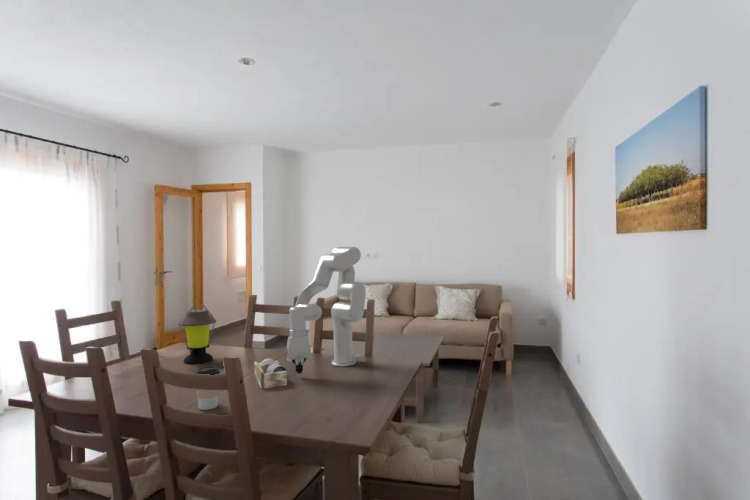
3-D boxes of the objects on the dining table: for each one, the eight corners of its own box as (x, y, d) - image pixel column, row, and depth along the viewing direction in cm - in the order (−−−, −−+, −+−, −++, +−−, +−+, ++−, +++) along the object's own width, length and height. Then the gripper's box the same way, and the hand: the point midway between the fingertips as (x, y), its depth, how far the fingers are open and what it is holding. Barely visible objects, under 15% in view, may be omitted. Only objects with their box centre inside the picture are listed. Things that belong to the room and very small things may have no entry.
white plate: (276, 374, 210) (276, 357, 210) (277, 375, 209) (276, 358, 209) (259, 376, 207) (259, 359, 207) (259, 377, 206) (259, 360, 206)
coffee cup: (191, 406, 170) (190, 367, 170) (214, 400, 176) (213, 363, 176) (201, 412, 164) (200, 372, 164) (224, 406, 170) (223, 367, 170)
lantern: (212, 353, 255) (211, 301, 255) (228, 358, 242) (227, 304, 241) (168, 362, 237) (166, 306, 237) (183, 368, 224) (182, 309, 223)
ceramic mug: (279, 377, 206) (278, 360, 206) (288, 381, 200) (287, 364, 200) (258, 382, 199) (257, 365, 199) (266, 386, 193) (265, 369, 193)
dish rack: (278, 373, 213) (277, 358, 212) (286, 385, 194) (286, 369, 194) (254, 376, 208) (254, 361, 208) (261, 388, 190) (261, 372, 190)
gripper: (311, 330, 211) (312, 368, 211) (280, 333, 205) (281, 373, 205) (316, 333, 204) (317, 372, 204) (283, 336, 198) (284, 377, 198)
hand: (299, 372), depth 205 cm, fingers closed
